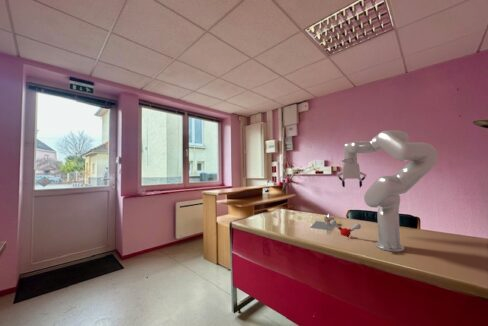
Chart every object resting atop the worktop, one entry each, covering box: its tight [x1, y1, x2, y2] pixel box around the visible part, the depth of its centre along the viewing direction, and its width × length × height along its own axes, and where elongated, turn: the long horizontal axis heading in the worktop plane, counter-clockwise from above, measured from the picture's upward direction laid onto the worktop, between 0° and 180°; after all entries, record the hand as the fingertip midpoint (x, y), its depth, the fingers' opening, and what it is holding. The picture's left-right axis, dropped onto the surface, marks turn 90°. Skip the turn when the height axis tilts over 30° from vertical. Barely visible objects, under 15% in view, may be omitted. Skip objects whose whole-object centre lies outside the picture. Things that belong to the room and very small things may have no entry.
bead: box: [323, 215, 335, 225], centre depth 151 cm, size 6×6×5 cm
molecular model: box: [330, 219, 362, 238], centre depth 127 cm, size 18×6×10 cm, turn 50°
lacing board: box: [309, 220, 338, 232], centre depth 148 cm, size 20×15×2 cm
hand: (352, 187), depth 135 cm, fingers open, 9 cm apart
